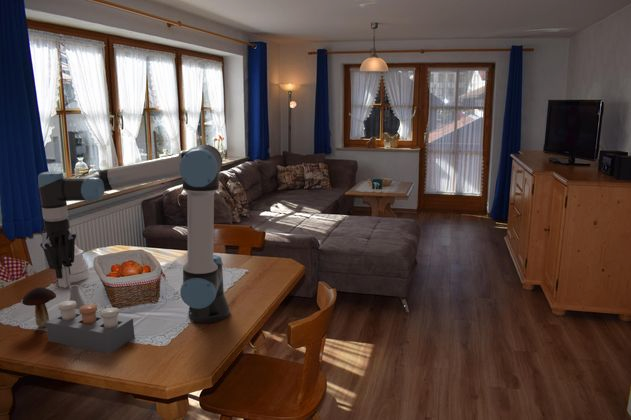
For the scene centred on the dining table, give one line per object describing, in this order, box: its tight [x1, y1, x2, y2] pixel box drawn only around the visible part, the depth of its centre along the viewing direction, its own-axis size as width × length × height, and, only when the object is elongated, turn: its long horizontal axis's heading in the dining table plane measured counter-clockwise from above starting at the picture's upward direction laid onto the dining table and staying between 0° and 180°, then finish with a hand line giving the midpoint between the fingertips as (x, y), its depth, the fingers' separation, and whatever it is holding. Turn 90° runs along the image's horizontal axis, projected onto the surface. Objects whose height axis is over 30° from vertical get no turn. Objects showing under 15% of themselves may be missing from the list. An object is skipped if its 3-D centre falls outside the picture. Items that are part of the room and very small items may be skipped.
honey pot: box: [62, 244, 90, 283], centre depth 235 cm, size 13×13×18 cm
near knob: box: [99, 307, 120, 329], centre depth 174 cm, size 6×6×8 cm
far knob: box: [58, 300, 77, 321], centre depth 180 cm, size 6×6×8 cm
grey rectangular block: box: [46, 309, 135, 354], centre depth 178 cm, size 26×12×7 cm, turn 70°
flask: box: [68, 284, 87, 309], centre depth 201 cm, size 7×7×10 cm
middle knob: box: [79, 303, 98, 325], centre depth 177 cm, size 6×6×8 cm
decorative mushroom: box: [21, 286, 57, 328], centre depth 187 cm, size 11×11×15 cm
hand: (64, 285), depth 178 cm, fingers closed
